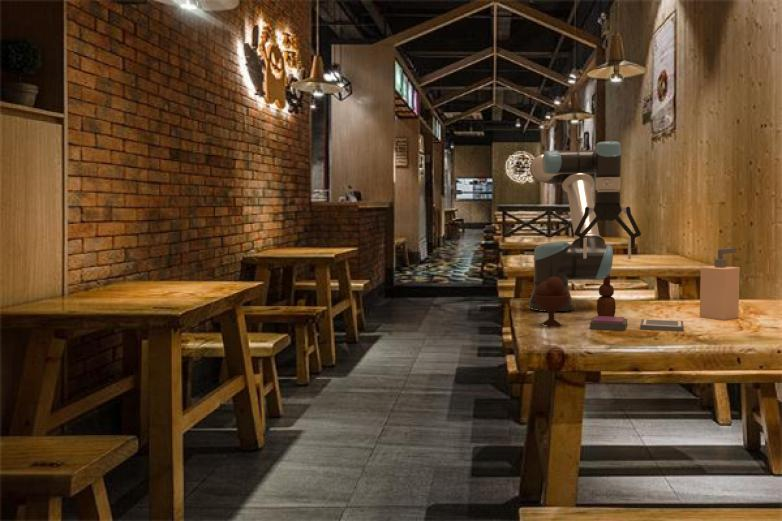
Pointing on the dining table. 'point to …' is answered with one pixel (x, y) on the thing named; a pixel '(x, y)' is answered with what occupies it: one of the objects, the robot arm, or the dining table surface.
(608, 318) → the ink pad
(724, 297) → the soap dispenser
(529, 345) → the dining table surface
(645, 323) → the marked board
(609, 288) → the wooden figurine
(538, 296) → the ice cream bowl
